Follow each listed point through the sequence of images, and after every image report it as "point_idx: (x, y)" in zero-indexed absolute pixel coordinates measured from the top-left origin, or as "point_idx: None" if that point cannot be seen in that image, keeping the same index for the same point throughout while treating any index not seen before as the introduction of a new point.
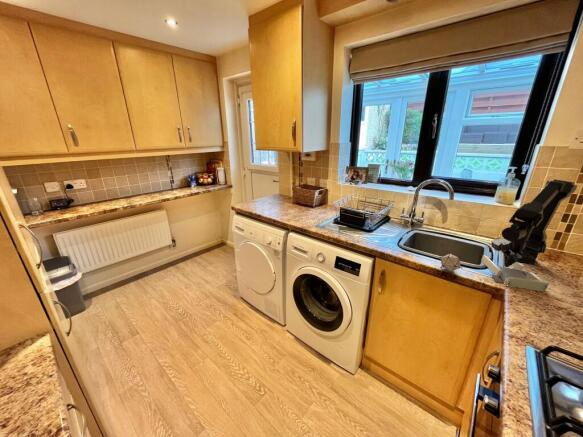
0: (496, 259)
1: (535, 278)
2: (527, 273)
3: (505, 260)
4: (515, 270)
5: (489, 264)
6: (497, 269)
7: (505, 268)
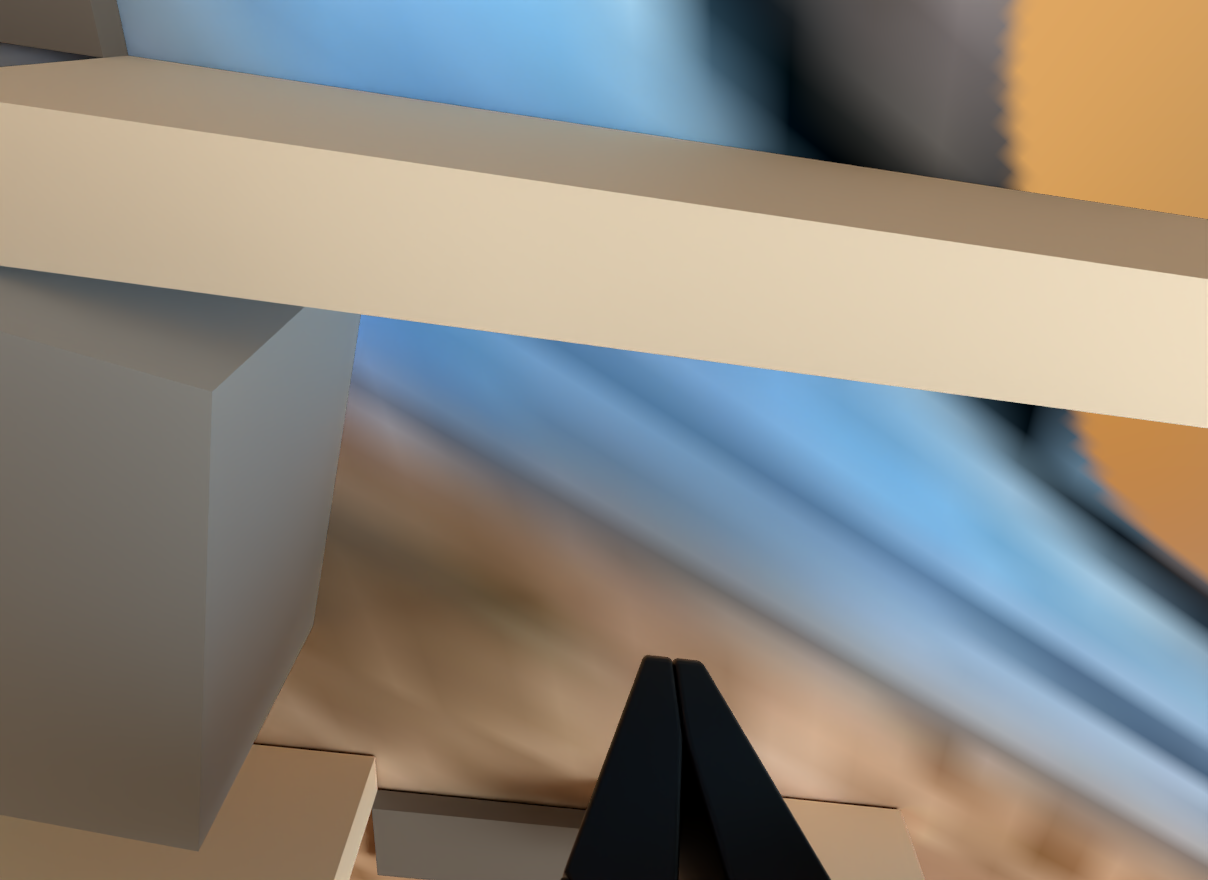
0: (1151, 703)
1: (74, 877)
2: (522, 851)
3: (723, 857)
4: (107, 737)
5: (796, 189)
6: (38, 102)
7: (94, 501)
